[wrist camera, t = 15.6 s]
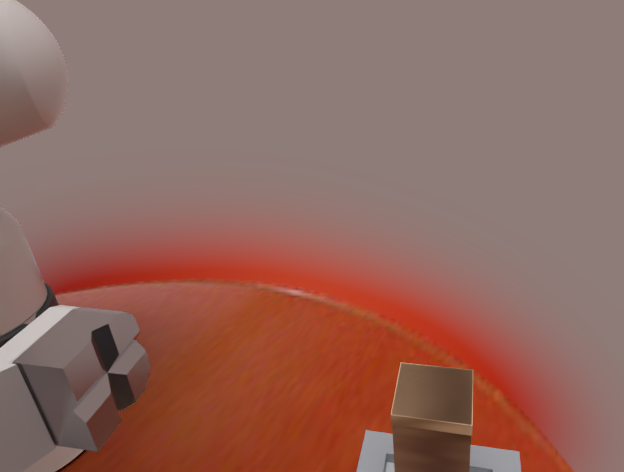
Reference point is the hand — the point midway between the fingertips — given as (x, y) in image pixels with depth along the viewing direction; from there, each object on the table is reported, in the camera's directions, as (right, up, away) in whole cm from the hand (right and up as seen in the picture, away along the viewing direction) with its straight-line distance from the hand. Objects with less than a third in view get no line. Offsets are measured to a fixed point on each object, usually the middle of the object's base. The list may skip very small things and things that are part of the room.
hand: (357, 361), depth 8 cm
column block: (+8, -18, +29) cm, 35 cm away
